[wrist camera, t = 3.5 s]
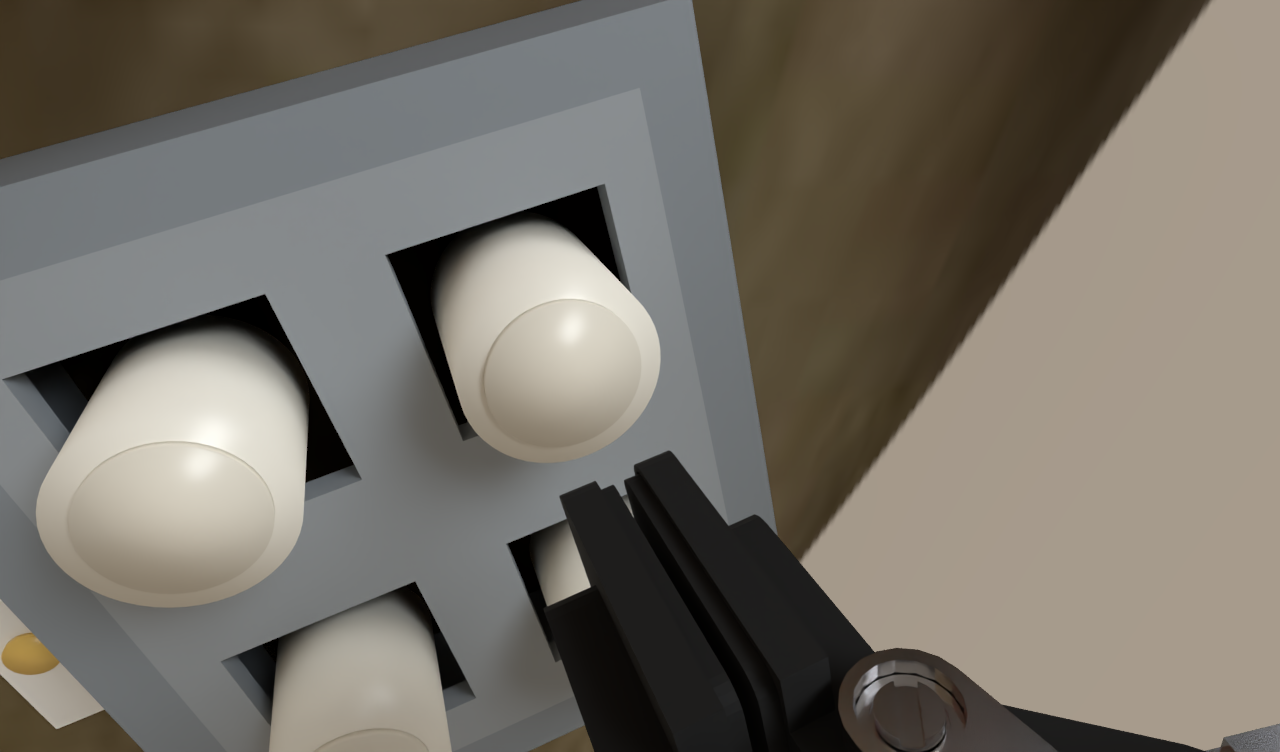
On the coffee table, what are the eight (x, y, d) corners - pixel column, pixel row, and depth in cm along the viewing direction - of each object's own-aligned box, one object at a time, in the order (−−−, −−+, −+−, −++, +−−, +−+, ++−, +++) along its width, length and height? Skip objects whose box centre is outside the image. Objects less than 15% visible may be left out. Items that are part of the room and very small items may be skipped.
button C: (261, 289, 17) (238, 386, 13) (337, 436, 19) (339, 559, 15) (62, 353, 16) (-28, 478, 12) (166, 499, 18) (119, 647, 14)
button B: (644, 458, 23) (712, 562, 19) (670, 557, 25) (736, 669, 21) (512, 512, 22) (552, 632, 18) (550, 609, 24) (595, 736, 20)
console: (616, -9, 20) (690, -7, 16) (728, 538, 30) (792, 627, 26) (-147, 199, 17) (-308, 273, 12) (273, 737, 27) (262, 876, 23)
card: (-35, 378, 19) (-46, 391, 18) (193, 662, 24) (190, 678, 24) (-218, 437, 18) (-237, 453, 17) (61, 716, 24) (54, 734, 23)
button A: (572, 188, 19) (640, 247, 14) (611, 336, 21) (680, 424, 17) (404, 243, 18) (425, 321, 14) (463, 390, 20) (497, 497, 16)
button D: (401, 557, 22) (417, 692, 17) (451, 652, 24) (475, 793, 20) (249, 617, 21) (230, 774, 17) (316, 711, 23) (313, 870, 19)
